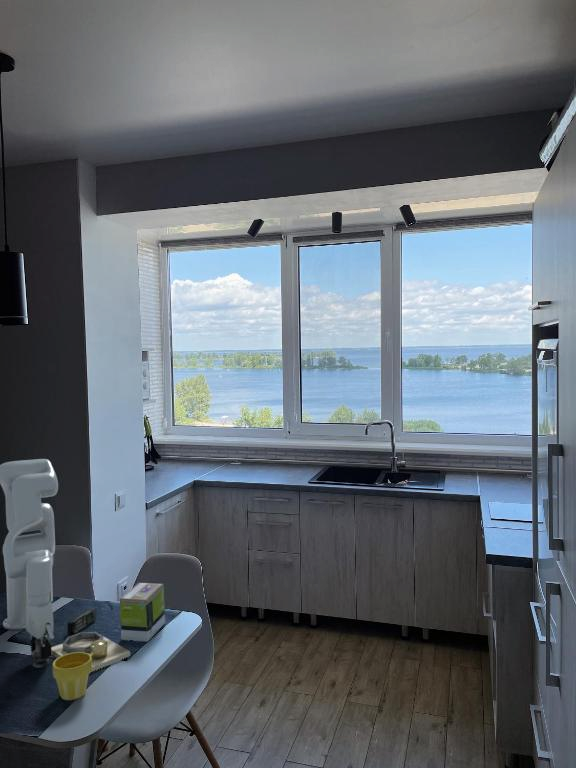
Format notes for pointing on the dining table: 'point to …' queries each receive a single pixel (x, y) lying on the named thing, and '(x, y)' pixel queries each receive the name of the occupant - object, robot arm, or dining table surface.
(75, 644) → the birch board
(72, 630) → the mobile phone
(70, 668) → the plant pot
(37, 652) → the grey knobbed cylinder
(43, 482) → the robot arm
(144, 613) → the tea box
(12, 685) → the dining table surface
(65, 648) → the ring holder
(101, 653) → the brass post
